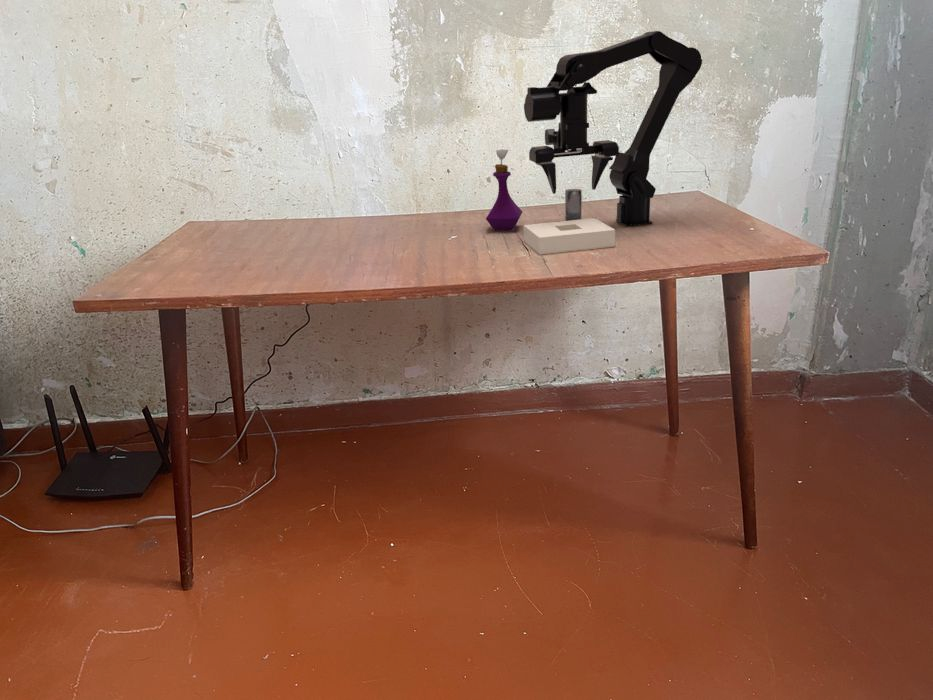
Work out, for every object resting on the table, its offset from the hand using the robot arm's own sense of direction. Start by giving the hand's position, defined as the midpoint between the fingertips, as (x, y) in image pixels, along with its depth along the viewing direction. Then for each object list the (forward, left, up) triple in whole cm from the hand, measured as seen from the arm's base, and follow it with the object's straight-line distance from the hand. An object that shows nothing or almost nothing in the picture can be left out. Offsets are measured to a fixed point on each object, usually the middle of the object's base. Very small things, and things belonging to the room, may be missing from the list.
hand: (573, 191), depth 157 cm
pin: (0, 0, -9) cm, 9 cm away
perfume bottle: (+14, -8, -9) cm, 19 cm away
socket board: (+5, +11, -9) cm, 15 cm away
